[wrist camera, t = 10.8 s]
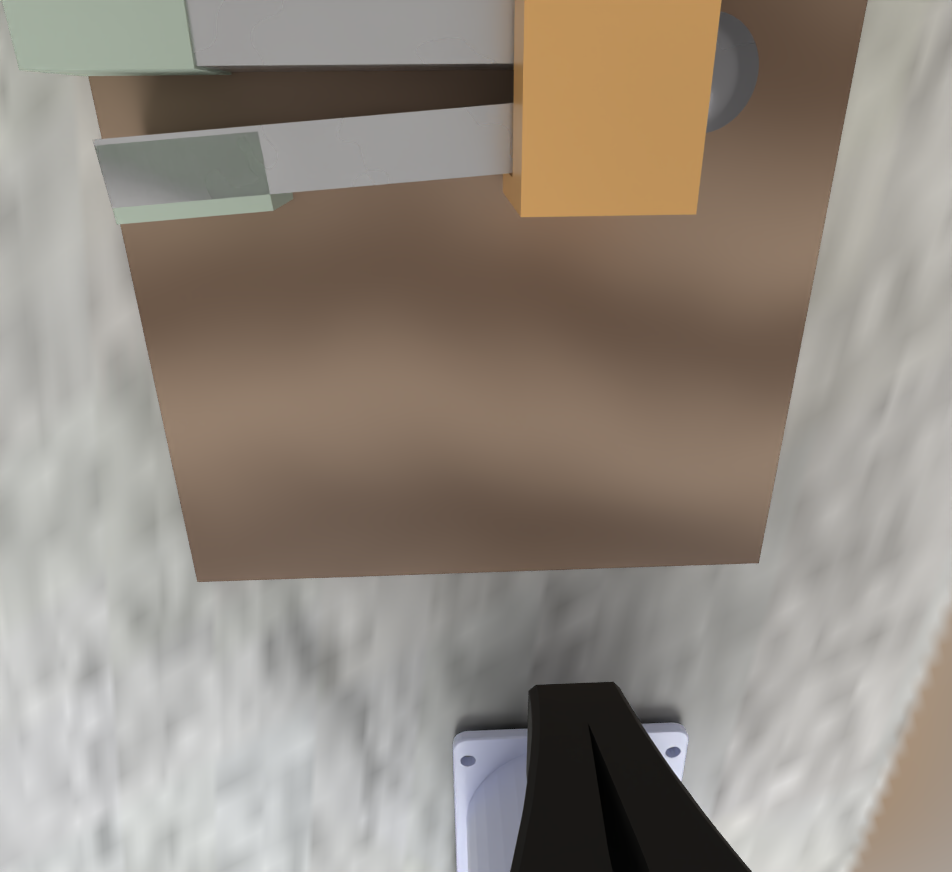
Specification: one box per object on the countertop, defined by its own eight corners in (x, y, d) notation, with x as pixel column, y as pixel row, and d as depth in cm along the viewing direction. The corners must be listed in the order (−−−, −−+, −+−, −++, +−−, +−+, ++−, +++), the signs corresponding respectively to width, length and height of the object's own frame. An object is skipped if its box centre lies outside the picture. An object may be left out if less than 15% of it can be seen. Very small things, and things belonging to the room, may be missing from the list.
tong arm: (614, 170, 15) (637, 178, 13) (155, 210, 15) (116, 224, 13) (614, 94, 15) (638, 92, 13) (136, 136, 15) (93, 139, 13)
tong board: (745, 543, 21) (796, 617, 18) (205, 561, 21) (163, 640, 18) (853, -53, 15) (960, -97, 12) (77, -52, 14) (-22, -96, 11)
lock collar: (638, 190, 16) (695, 214, 12) (502, 192, 15) (520, 216, 12) (658, -49, 14) (734, -103, 10) (504, -49, 14) (525, -103, 10)
